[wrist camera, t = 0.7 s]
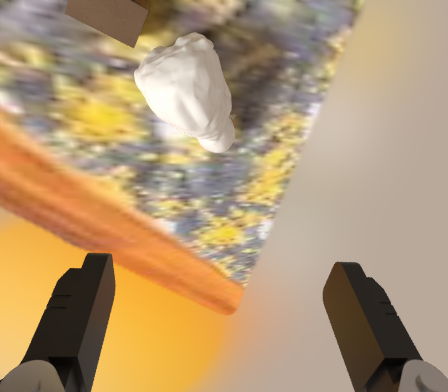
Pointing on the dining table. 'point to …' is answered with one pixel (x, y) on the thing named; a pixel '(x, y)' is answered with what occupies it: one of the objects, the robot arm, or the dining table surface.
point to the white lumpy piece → (189, 90)
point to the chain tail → (112, 17)
